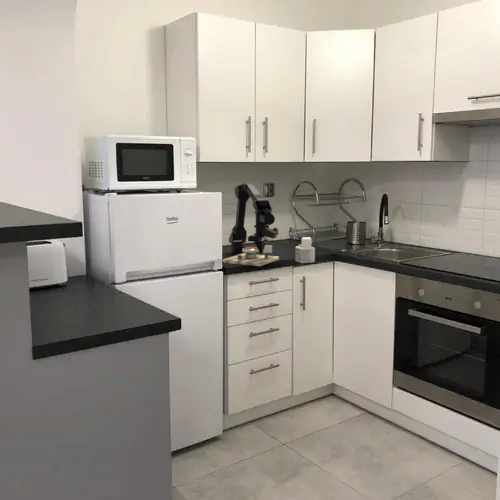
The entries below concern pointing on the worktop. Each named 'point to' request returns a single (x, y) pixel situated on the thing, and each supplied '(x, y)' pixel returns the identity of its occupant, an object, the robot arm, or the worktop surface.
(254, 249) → the grey piece
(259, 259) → the base plate
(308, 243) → the container
